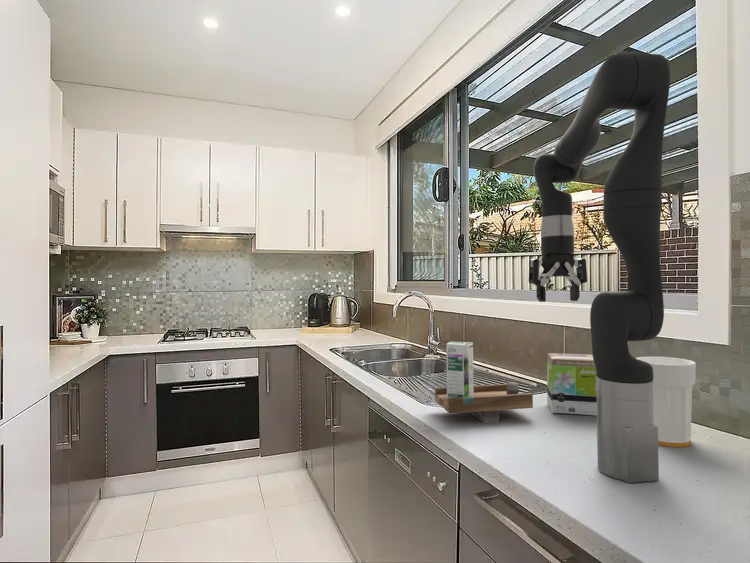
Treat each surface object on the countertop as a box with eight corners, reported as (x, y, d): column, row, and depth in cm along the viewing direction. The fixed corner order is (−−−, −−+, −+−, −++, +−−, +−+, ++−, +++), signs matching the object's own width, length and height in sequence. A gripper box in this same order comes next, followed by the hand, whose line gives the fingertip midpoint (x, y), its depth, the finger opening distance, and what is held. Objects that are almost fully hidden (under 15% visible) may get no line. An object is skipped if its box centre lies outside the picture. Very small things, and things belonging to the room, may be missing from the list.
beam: (533, 419, 115) (532, 388, 115) (449, 425, 112) (449, 393, 112) (511, 406, 127) (510, 378, 127) (435, 411, 124) (434, 382, 124)
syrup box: (446, 399, 117) (445, 343, 117) (453, 394, 122) (452, 340, 122) (468, 402, 114) (467, 344, 114) (474, 396, 120) (473, 341, 120)
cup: (627, 439, 101) (626, 360, 101) (647, 427, 108) (646, 354, 108) (687, 453, 92) (686, 367, 92) (704, 440, 99) (703, 360, 99)
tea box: (551, 414, 120) (551, 358, 120) (546, 404, 130) (546, 352, 129) (614, 417, 116) (613, 359, 116) (604, 406, 126) (603, 353, 126)
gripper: (538, 233, 107) (539, 302, 107) (593, 233, 109) (594, 301, 110) (522, 236, 115) (523, 301, 115) (574, 236, 117) (575, 300, 117)
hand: (558, 301), depth 112 cm, fingers open, 8 cm apart
